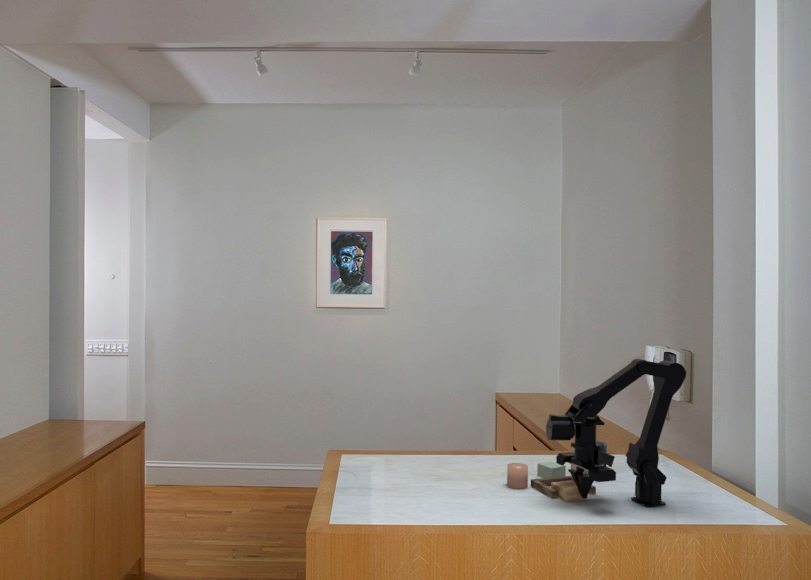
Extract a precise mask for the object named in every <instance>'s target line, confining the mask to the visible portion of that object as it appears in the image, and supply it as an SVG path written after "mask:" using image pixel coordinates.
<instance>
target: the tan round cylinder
mask: <svg viewBox="0 0 811 580" xmlns="http://www.w3.org/2000/svg"><path fill="white" fill-rule="evenodd" d="M506 468H507V469H506V471H507V473H506V475H507V476H506V486H507V488H509V489H513V490H520V491H521V490H526V489H529V488H528V487H529V486H528V485H529V465H527V464H525V463H521V462H509V463H508V464H507V467H506Z"/></svg>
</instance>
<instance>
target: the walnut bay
mask: <svg viewBox="0 0 811 580" xmlns="http://www.w3.org/2000/svg"><path fill="white" fill-rule="evenodd" d="M570 480H572V481H574V479H573V477H572V475H565V476H561V477H551V478H542V477H539V478H533V479H530V487H531V488H532V489H534V490H536V491H538V492H539V493H542V494H544V495H545V496H547V497H548V498H550V499H552V500H554V499H558V497H557V491H556V490H554V489H552V488H551V483H552V482H561V481H570ZM574 482H575V481H574ZM596 493H597V486H595V485H593V484H592V486H591V488H590V491H589V493H588V495H589V494H590V495H596Z"/></svg>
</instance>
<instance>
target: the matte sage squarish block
mask: <svg viewBox="0 0 811 580" xmlns="http://www.w3.org/2000/svg"><path fill="white" fill-rule="evenodd" d="M566 470H567V469H566V465H565V464H564V465H560V464H558V463H556V461H552V460H550V461H545V462H543V461H542V462H540V463H539V462H538V463H537V470H536V471H537V474H536V475H537V477H539V478H551V477H561V476H566Z"/></svg>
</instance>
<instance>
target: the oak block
mask: <svg viewBox="0 0 811 580" xmlns="http://www.w3.org/2000/svg"><path fill="white" fill-rule="evenodd" d="M550 487H551V488H552V489H554V490H556V491H557V499H559V500H561V501H563V502H565V503H570V502H578V501H586V500H588V497H587V498H582V497H581V495H580V492H579V490H578V488H577V485H576V483H575V482H574V481H572V480H570V481H561V482H552V483H551V486H550Z"/></svg>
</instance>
